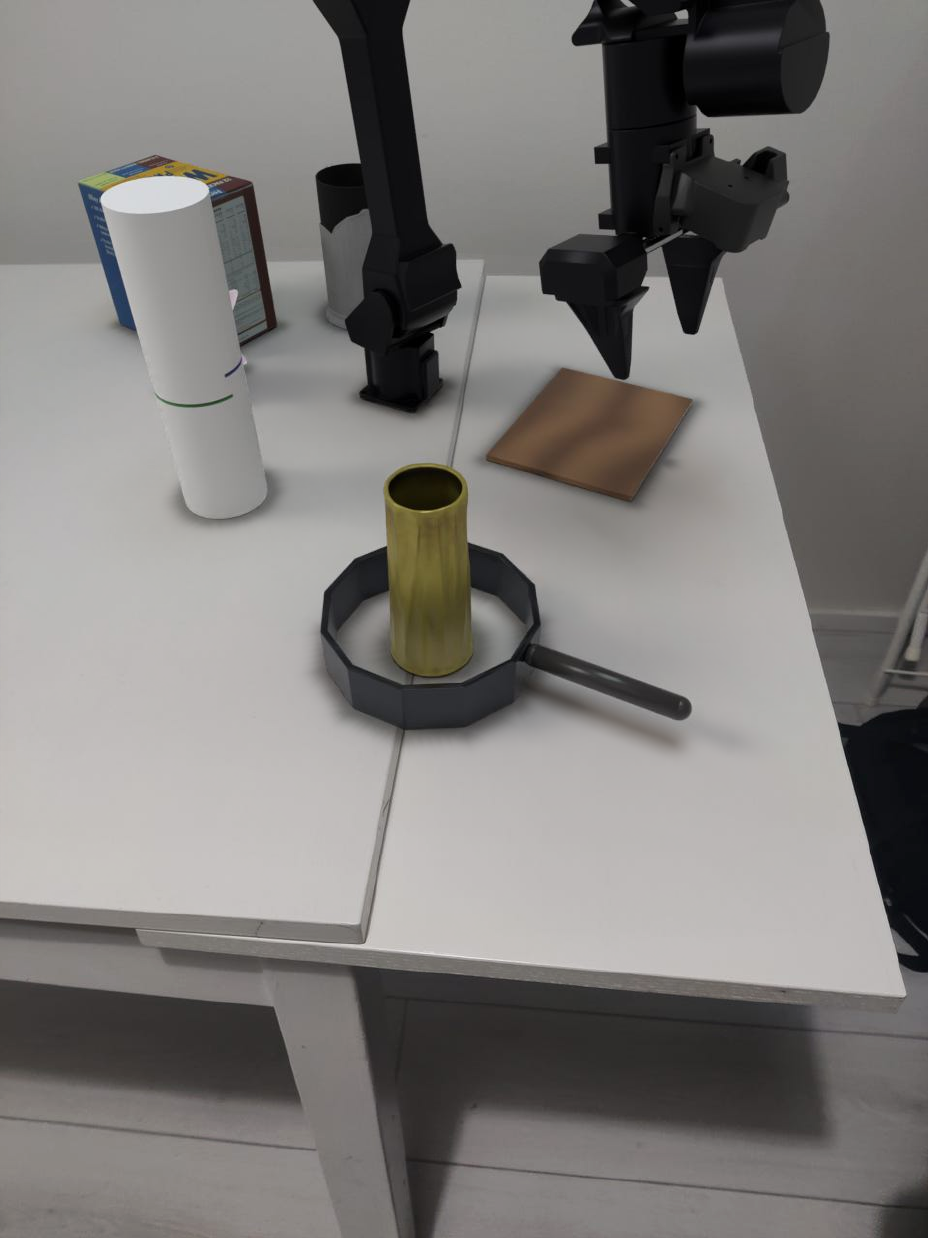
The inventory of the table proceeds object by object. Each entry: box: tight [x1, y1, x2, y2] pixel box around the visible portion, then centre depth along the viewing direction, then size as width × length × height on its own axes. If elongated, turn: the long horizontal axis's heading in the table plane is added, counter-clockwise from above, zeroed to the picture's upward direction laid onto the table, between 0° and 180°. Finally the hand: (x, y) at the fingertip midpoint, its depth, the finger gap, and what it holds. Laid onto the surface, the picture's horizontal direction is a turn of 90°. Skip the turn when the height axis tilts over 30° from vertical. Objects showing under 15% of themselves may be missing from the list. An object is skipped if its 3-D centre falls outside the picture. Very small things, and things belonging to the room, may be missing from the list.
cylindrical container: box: [100, 176, 269, 520], centre depth 68 cm, size 7×7×25 cm
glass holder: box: [314, 162, 372, 330], centre depth 98 cm, size 9×14×15 cm, turn 24°
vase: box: [383, 462, 475, 677], centre depth 58 cm, size 6×6×14 cm
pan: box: [319, 541, 693, 730], centre depth 60 cm, size 26×15×4 cm, turn 63°
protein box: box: [76, 154, 278, 346], centre depth 94 cm, size 10×15×16 cm
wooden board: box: [485, 367, 694, 502], centre depth 83 cm, size 14×18×1 cm
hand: (657, 355), depth 65 cm, fingers open, 9 cm apart
